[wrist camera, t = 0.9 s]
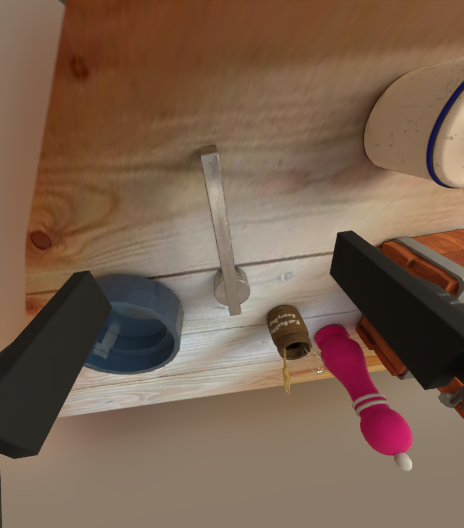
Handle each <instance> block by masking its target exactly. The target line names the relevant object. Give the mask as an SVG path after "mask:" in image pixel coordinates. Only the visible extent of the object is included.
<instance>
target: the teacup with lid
mask: <svg viewBox="0 0 464 528" xmlns="http://www.w3.org/2000/svg"><path fill="white" fill-rule="evenodd" d="M364 146H365V151H366V154H367V156H368V158H369V159H370V161H371V162H372V163H373V164H375V165H376V166H379V167H381V168H385V169H389V170H393V171H397V172H401V173H405V174H409V175H413V176H417V177H421V178H425V179H429V180H433V181H435V182H436V183H437V184H439V185H441V186H443V187H447V188H464V57H462V58H458V59H454V60H450V61H446V62H443V63H439V64H435V65H431V66H427V67H423V68H419V69H416V70H413V71H411V72H409V73H407V74H405V75H403V76H402V77H400V78H399V79H398V80H396V81H395V82H394V83H393V84H392V85H391V86H390V87H389V88H388V89H387V90H386V91H385V92H384V93H383V94H382V96H381V97H380V98H379V100H378V101H377V103H376V104H375V106H374V108H373V110H372V112H371V114H370V116H369V119H368V121H367V125H366V129H365V134H364Z"/></svg>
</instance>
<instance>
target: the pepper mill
mask: <svg viewBox="0 0 464 528" xmlns="http://www.w3.org/2000/svg"><path fill="white" fill-rule="evenodd" d="M315 342H316V344H317V346H318V348H319V349H320V350H321V359H323V360H322V361H324V362H323V363H324V364H325V366H326V368H327V369H328V370H329V371H330V372H331V373H332V374H333V375H334V376H335V377H336V378H337V379H338V380H339V381H340V382H341V383H342V384H343V385H344V387H345V388H346V389H347V391H348V393H349V394H350V396H351V399H352V401H353V404H352V407H353V408H354V409H355V411H356V415H357V416H359V417H361V422H360V428H361V432H362V434H363V436H364V438H365V439H366V441H367V442H368V444H369V445H370V446H371V447H372V448H373V449H375V450H376V451H378V452H379V453H382V454H385V455H394V460H395V462H396V464H397V465H398V466H399V467H400V468H401V469H402V470H405V471H409V470H411V469H412V462H411V460H410V458H409V457H408V456H407V455H406V454H405V453H404V452H406V451H407V450H408V449H409V448H410V446H411V445H412V441H413V439H412V433H411V430H410V428H409V426H408V424H407V422H406V421H405V419H404V418H403V417H402V416H401V415H400V414H398V413H397V412H396V411H394V410H392V409H390V408H389V407H390V403H389V402H388V401H387V400H386V397H385V395H383V394H380V393H379V392H378V390H377V389H376V387H375V386H374V384H373V382H372V381H371V378H370V376H369V373H368V370H367V366H366V360H365V356H364V353H363V351H362V349H361V347H360V346H359V344H358V343H357V342H356V341H354V340H352V339H350V337H349V334H348V333H347V331H346V330H345V328H344V327H343V326H341V325H330V326H326V327H324V328H322V329H321V330H319V331H318V332H317V334H316V335H315Z"/></svg>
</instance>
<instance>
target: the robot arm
mask: <svg viewBox="0 0 464 528" xmlns="http://www.w3.org/2000/svg"><path fill="white" fill-rule="evenodd" d="M330 275H331V276H332V277H333V278H334V280H335V281H336V282H337V283H338V285H339V286H340V287H341V288H342V289H343V291H344V292H345V293H346V294H347V296H348V297H349V298H350V299H351V300H352V302H353V303H354V304H355V305H356V307H357V308H358V309H359V310H360V311H361V313H362V314H363V315H364V316H365V318H366V319H367V320H368V321H369V322H370V324H371V325H372V326H373V327H374V329H375V330H376V331H377V332H378V333H379V335H380V336H381V337H382V338H383V340H384V341H385V342H386V343H387V344H388V346H389V347H390V348H391V349H392V350H393V352H394V353H395V354H396V355H397V357H398V358H399V359H400V360H401V361H402V363H403V364H404V365H405V366H406V368H407V369H408V370H409V371H410V372H411V374H412V375H413V376H414V377H415V379H416V380H417V381H418V382H419V383H420V385H421V386H422V387H423V388H424V390H428V389H434V388H440V387H446V386H448V385H449V384H450V383H451V382H452V380H453V379H454V378H455V377H456V378H457V379H458V380H459V381H460V382H461V383H462V384H463V386H462V387H461V388H460V389H459V390H458V391H457V392H456V393H455V394H454V395H453V396H452V397H451V398H450V402H449V403H450V404H452V405H455V404H456V403H457V402H458V401H459V400H460V399H462V406H461V407H460V408H462V409H463V412H464V303H461V301H460V300H459V299H457V298H456V297H454V296H453V295H450V294H449V292H447V291H446V290H444V289H443V288H441V287H440V286H439V285H437V284H435V283H433V282H431V281H429V280H426V279H424V278H422V277H414V276H413V275H412V274H410V273H409V272H407V271H406V270H405V269H403V268H402V267H401V266H399V265H398V264H397V263H395V262H394V261H393V260H391V259H390V258H388V257H387V256H386V255H384V254H383V253H382V252H380V251H379V250H378V249H376V248H375V247H374V246H372V245H371V244H369V243H368V242H367V241H365V240H364V239H363V238H361V237H360V236H359V235H357V234H356V233H355V232H353V231H352V230H351V231H345V232H338V233H337V238H336V243H335V248H334V254H333V259H332V264H331V269H330ZM112 308H113V307H112V306H111V304H110V303H109V301H108V299H107V298H106V296H105V295H104V293H103V292H102V290H101V288H100V287H99V285H98V284H97V282H96V280H95V279H94V277H93V276H92V274H91V273H90V271H83V272H76V273H74V274H73V275H72V276H71V277H70V278H69V279H68V281H67V282H66V283H65V284H64V285H63V286H62V287H61V288H60V290H59V291H58V292H57V293H56V294H55V295H54V296H53V297H52V299H51V300H50V301H49V302H48V303H47V304H46V305H45V306H44V308H43V309H42V310H41V311H40V312H39V313H38V314H37V315H36V317H35V318H34V319H33V320H32V321H31V322H30V323H29V325H28V326H27V327H26V328H25V329H24V330H23V331H22V332H21V334H20V335H19V336H18V337H17V338H16V339H15V340H14V342H12V343H11V344H10V345H9V346H7V347H6V348H5V349H4V350H2V351H1V352H0V454H3V455H5V456H8V457H10V458H13V459H17V458H22V457H28V456H34V455H38V453H39V451H40V449H41V447H42V445H43V443H44V441H45V439H46V437H47V435H48V433H49V431H50V430H51V427H52V426H53V424H54V421H55V420H56V418H57V416H58V414H59V412H60V410H61V408H62V406H63V404H64V402H65V400H66V398H67V396H68V394H69V392H70V390H71V388H72V386H73V384H74V382H75V381H76V379H77V377H78V375H79V373H80V371H81V369H82V367H83V365H84V363H85V361H86V359H87V357H88V355H89V353H90V351H91V349H92V347H93V345H94V343H95V341H96V339H97V337H98V335H99V333H100V332H101V330H102V328H103V326H104V324H105V322H106V320H107V318H108V316H109V314H110V312H111V310H112ZM0 479H1V478H0ZM1 515H2V514H1V480H0V528H2V516H1Z"/></svg>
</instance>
